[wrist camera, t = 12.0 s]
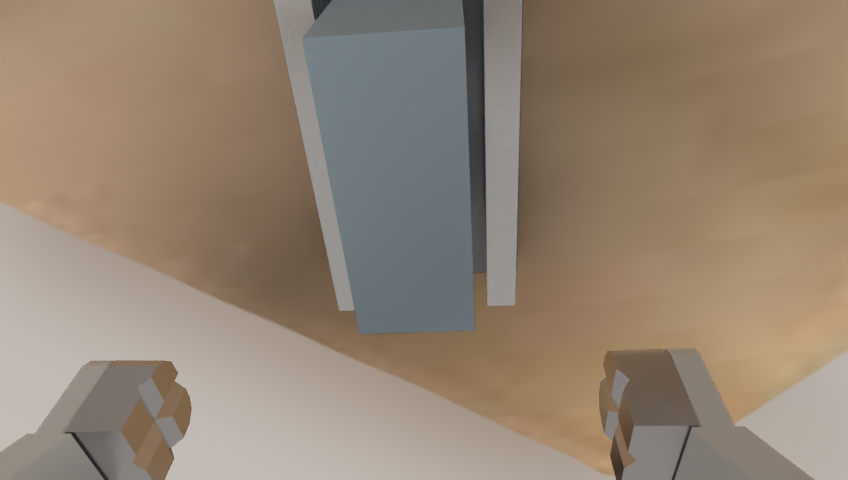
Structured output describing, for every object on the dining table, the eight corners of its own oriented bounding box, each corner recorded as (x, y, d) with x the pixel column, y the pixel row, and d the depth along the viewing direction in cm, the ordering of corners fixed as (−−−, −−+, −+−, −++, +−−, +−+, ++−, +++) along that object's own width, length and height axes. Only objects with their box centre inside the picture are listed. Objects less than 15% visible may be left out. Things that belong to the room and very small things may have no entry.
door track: (272, -115, 19) (239, -110, 16) (522, -137, 18) (536, -136, 15) (344, 262, 28) (332, 311, 25) (514, 256, 27) (522, 305, 24)
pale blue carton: (379, 224, 25) (359, 334, 19) (344, -16, 20) (302, 37, 14) (468, 220, 25) (474, 330, 19) (459, -25, 19) (464, 26, 13)
